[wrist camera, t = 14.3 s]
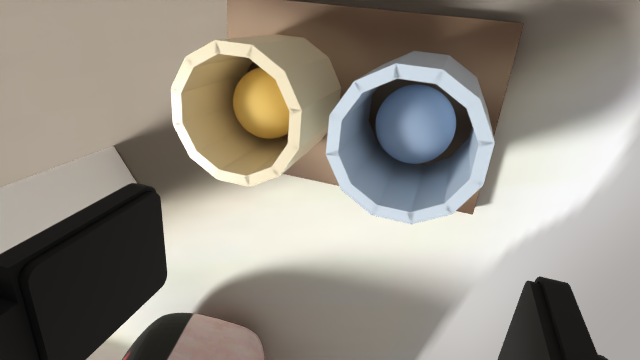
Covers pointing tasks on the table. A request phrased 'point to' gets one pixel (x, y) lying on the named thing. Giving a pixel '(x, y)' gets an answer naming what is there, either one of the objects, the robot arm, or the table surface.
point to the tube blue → (399, 177)
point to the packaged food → (195, 340)
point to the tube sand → (218, 113)
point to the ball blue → (415, 124)
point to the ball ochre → (261, 105)
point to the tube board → (385, 57)
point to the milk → (58, 194)
